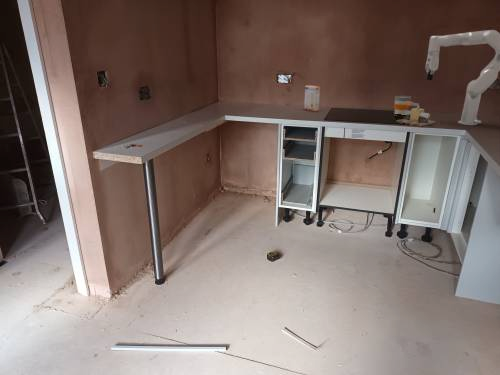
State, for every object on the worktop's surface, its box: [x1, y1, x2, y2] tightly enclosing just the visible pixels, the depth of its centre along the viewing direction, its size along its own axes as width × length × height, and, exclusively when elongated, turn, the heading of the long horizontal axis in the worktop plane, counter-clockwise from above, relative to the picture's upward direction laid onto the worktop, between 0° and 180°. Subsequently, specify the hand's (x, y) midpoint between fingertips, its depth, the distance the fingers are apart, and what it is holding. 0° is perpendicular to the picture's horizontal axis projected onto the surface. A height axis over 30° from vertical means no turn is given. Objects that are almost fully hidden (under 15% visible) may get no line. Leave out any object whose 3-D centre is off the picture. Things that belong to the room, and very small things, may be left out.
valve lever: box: [405, 101, 421, 109], centre depth 285 cm, size 11×3×4 cm, turn 34°
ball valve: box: [405, 107, 431, 122], centre depth 284 cm, size 18×6×9 cm, turn 36°
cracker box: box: [303, 84, 321, 112], centre depth 333 cm, size 14×6×21 cm, turn 30°
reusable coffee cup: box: [393, 95, 412, 115], centre depth 312 cm, size 13×13×15 cm
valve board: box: [395, 115, 436, 128], centre depth 285 cm, size 20×20×4 cm
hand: (429, 79), depth 281 cm, fingers closed
